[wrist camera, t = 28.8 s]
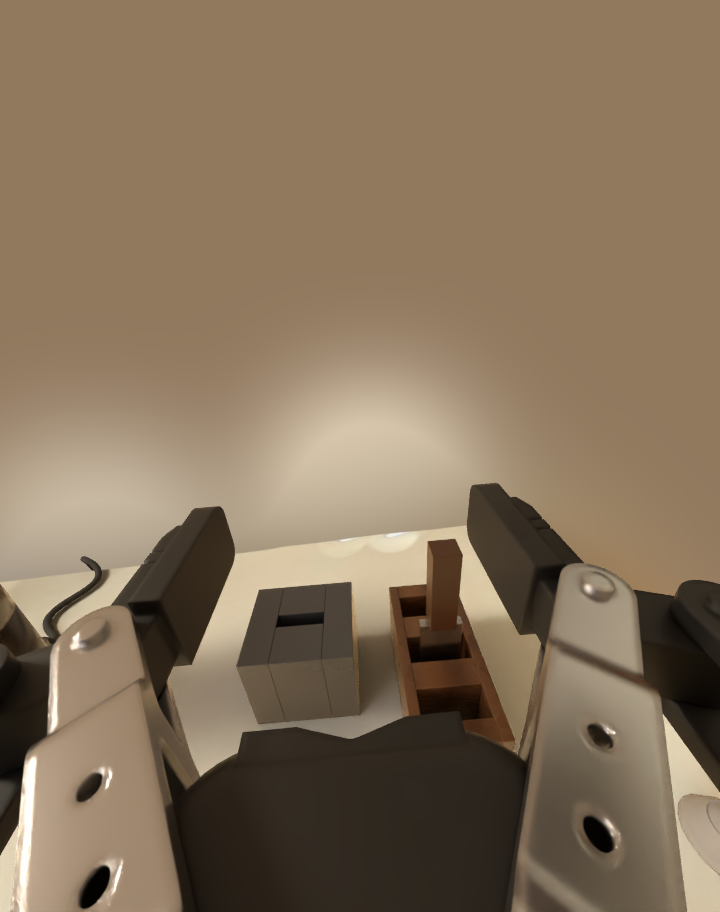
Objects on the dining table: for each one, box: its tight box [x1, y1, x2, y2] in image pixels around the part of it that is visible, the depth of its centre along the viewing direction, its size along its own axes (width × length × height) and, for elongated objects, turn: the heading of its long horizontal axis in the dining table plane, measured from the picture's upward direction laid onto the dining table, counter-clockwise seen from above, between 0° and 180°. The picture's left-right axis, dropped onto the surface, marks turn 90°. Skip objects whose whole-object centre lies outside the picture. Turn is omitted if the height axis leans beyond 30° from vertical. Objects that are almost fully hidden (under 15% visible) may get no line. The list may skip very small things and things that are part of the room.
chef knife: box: [419, 539, 463, 662], centre depth 31 cm, size 4×2×21 cm, turn 92°
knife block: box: [236, 582, 360, 724], centre depth 36 cm, size 11×9×10 cm
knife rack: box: [389, 584, 515, 751], centre depth 34 cm, size 8×16×8 cm, turn 2°
